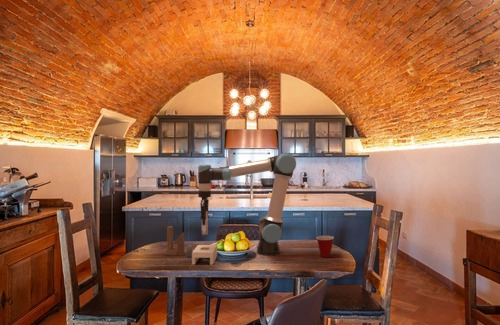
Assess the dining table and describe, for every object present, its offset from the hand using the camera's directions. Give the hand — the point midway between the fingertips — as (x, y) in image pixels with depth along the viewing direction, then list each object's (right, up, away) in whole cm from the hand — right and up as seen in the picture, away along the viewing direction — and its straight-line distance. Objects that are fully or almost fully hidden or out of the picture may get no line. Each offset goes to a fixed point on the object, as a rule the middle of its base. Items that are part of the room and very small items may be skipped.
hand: (204, 229), depth 192 cm
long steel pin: (0, -3, 0) cm, 3 cm away
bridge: (0, -18, 0) cm, 18 cm away
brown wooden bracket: (-20, -19, +11) cm, 30 cm away
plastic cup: (+74, -18, +7) cm, 76 cm away
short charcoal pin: (-10, -18, +8) cm, 23 cm away
